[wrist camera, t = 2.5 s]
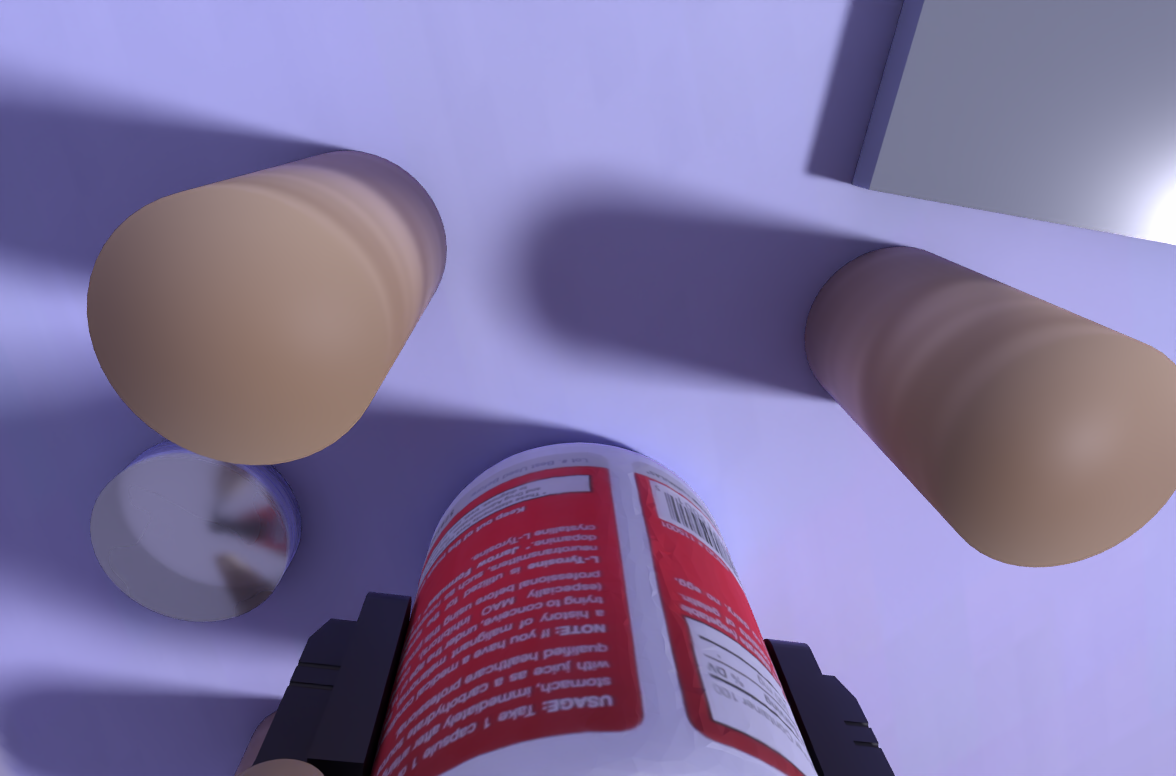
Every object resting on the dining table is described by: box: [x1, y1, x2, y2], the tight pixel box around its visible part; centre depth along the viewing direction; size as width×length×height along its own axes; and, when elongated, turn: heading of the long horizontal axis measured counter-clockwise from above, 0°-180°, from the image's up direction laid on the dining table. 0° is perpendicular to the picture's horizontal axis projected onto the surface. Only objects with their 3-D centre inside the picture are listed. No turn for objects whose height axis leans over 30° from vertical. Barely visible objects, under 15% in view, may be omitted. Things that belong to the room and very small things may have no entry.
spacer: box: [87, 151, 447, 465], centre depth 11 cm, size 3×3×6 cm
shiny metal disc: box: [90, 440, 302, 622], centre depth 15 cm, size 4×4×1 cm
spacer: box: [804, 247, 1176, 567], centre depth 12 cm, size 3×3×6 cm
